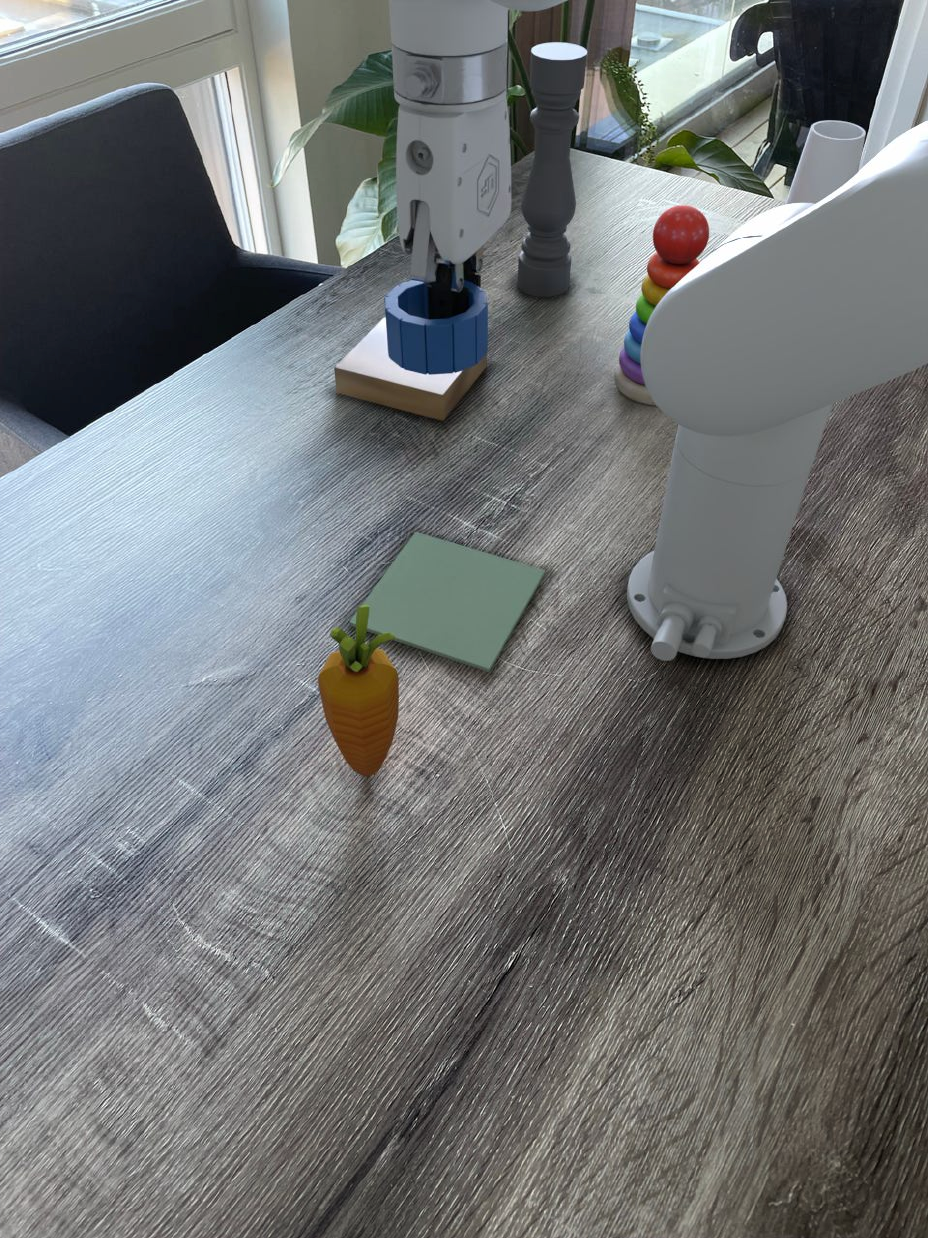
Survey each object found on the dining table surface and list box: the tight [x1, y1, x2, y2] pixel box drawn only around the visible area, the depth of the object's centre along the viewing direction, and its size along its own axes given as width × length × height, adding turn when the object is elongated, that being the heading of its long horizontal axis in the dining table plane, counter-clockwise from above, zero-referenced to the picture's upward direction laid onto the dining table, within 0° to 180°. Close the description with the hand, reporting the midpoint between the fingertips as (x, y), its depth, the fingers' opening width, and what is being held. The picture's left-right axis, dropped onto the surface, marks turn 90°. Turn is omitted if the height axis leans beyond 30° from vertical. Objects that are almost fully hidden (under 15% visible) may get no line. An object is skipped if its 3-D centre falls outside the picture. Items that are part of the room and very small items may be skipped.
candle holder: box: [516, 41, 588, 298], centre depth 109 cm, size 6×6×25 cm
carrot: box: [317, 604, 400, 778], centre depth 63 cm, size 5×5×15 cm
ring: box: [383, 279, 489, 375], centre depth 76 cm, size 8×8×4 cm
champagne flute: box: [784, 119, 867, 205], centre depth 97 cm, size 7×7×24 cm
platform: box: [333, 316, 488, 422], centre depth 103 cm, size 11×12×3 cm
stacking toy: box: [613, 204, 710, 406], centre depth 96 cm, size 8×8×19 cm
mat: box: [348, 531, 546, 673], centre depth 81 cm, size 12×12×1 cm
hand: (455, 325), depth 79 cm, fingers closed on ring, 1 cm apart
